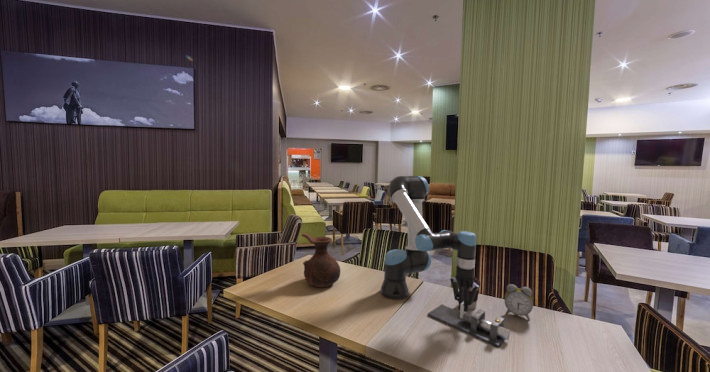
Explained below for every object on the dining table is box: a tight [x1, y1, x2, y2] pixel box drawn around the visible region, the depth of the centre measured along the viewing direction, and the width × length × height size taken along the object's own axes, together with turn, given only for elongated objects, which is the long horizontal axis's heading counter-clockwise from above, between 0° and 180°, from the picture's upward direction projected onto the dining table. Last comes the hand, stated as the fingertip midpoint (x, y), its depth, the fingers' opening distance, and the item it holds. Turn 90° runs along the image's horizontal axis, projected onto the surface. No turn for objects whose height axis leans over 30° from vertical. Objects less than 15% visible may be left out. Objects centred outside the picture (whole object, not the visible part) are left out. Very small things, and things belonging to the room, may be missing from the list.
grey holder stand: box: [427, 304, 506, 348], centre depth 130 cm, size 32×13×8 cm, turn 44°
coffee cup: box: [463, 276, 481, 310], centre depth 147 cm, size 10×10×15 cm
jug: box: [301, 232, 341, 288], centre depth 170 cm, size 22×22×30 cm
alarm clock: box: [504, 283, 534, 321], centre depth 138 cm, size 12×7×15 cm, turn 62°
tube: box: [463, 312, 511, 341], centre depth 124 cm, size 18×4×4 cm, turn 44°
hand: (462, 317), depth 132 cm, fingers closed
